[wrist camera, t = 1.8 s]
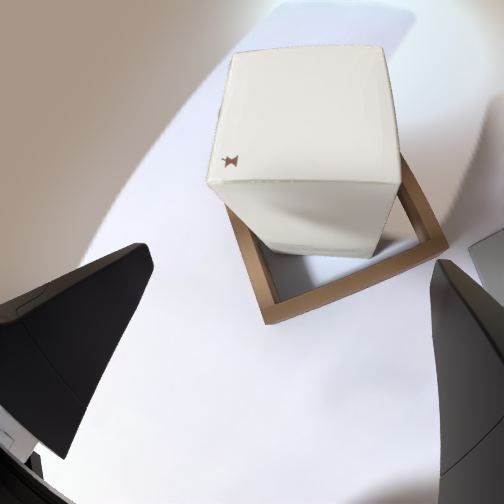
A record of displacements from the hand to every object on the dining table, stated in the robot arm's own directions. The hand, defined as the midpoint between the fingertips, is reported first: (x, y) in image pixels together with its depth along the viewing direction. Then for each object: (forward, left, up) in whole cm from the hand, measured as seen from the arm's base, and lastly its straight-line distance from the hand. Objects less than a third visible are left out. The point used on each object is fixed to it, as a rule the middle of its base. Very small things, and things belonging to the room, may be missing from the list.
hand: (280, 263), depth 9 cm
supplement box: (+6, -3, -14) cm, 15 cm away
